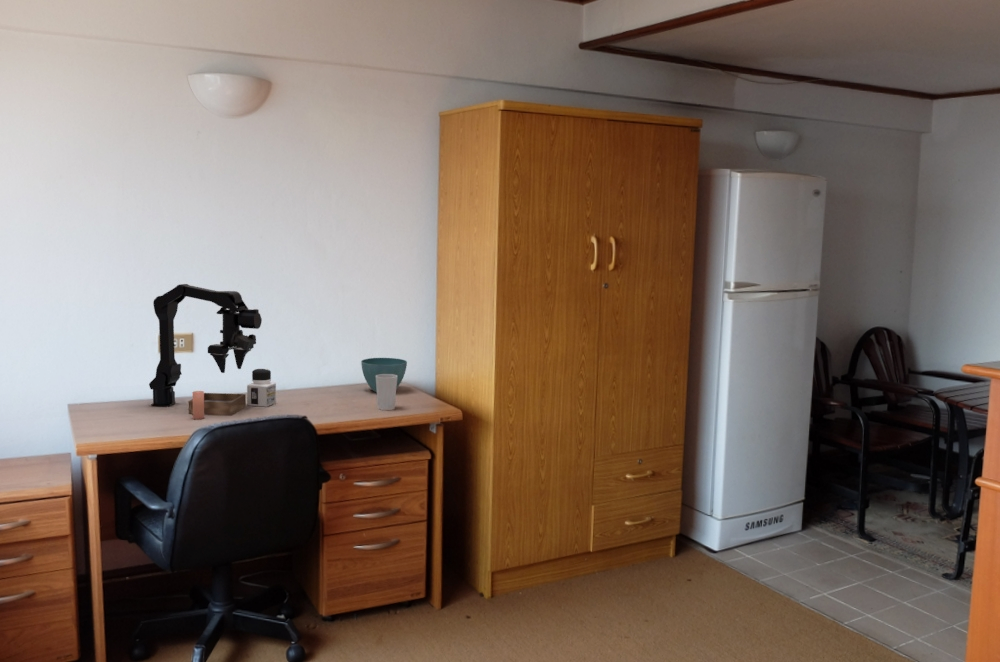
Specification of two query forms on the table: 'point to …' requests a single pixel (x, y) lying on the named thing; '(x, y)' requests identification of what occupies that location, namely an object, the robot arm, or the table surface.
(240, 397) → the box
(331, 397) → the table surface
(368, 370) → the teal bowl
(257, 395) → the container
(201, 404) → the peg
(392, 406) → the cup
